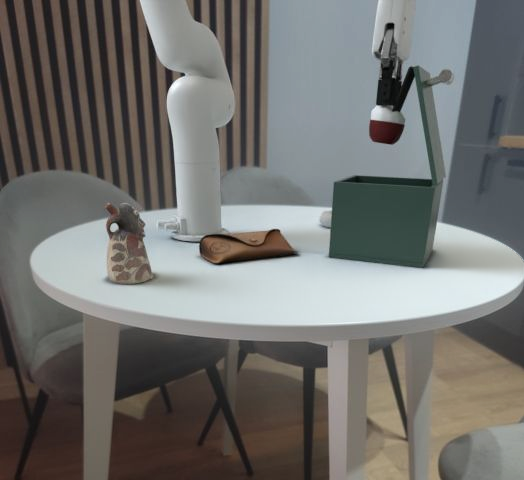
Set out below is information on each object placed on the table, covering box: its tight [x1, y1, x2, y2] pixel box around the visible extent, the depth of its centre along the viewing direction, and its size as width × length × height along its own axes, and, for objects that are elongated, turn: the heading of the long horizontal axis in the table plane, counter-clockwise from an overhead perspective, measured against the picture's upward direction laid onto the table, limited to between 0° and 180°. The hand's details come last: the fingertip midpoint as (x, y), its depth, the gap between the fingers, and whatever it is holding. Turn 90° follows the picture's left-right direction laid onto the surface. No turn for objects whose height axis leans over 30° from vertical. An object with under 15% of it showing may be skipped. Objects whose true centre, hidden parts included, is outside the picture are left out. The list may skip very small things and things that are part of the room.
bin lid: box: [412, 65, 455, 185], centre depth 86 cm, size 18×15×5 cm
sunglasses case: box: [198, 228, 298, 264], centre depth 96 cm, size 18×7×7 cm
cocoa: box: [368, 66, 415, 145], centre depth 88 cm, size 10×6×12 cm, turn 174°
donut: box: [318, 209, 332, 229], centre depth 124 cm, size 10×4×10 cm
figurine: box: [104, 202, 154, 285], centre depth 79 cm, size 7×7×12 cm
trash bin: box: [328, 174, 444, 269], centre depth 96 cm, size 18×15×14 cm
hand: (387, 104), depth 88 cm, fingers closed on cocoa, 3 cm apart
